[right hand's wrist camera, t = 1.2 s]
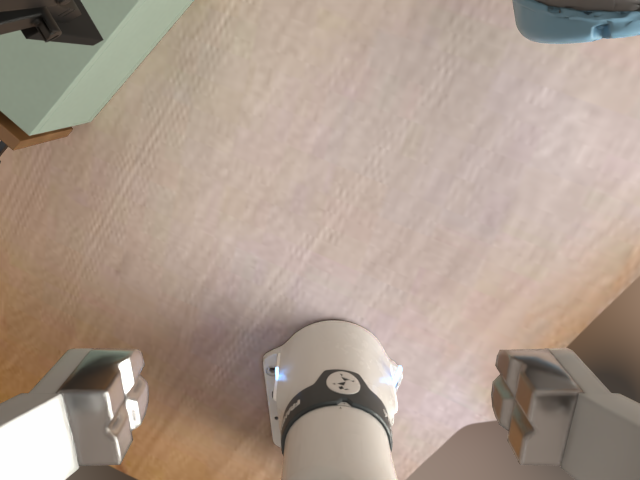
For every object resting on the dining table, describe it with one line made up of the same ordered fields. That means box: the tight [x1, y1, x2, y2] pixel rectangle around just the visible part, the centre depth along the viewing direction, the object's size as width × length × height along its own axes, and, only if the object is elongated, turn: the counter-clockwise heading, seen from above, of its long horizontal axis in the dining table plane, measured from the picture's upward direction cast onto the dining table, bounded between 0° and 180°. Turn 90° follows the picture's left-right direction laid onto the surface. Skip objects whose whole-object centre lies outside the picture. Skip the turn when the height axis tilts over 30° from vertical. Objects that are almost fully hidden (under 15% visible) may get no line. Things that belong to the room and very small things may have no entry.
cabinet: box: [0, 0, 194, 136], centre depth 41 cm, size 21×11×11 cm, turn 134°
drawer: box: [0, 111, 73, 162], centre depth 42 cm, size 25×9×9 cm, turn 134°
